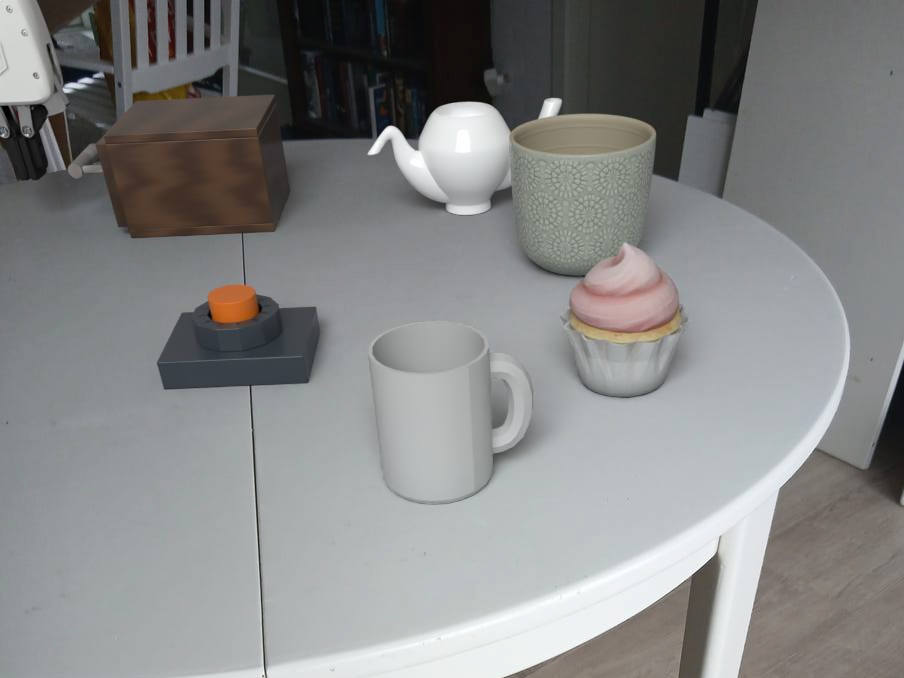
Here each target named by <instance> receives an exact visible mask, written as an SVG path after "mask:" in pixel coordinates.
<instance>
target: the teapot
mask: <svg viewBox="0 0 904 678" xmlns="http://www.w3.org/2000/svg"><path fill="white" fill-rule="evenodd" d="M562 104H563V100H562V99H561V98H559V97H550V98H546V99H544V100H543V104H542V107H541V110H540V113H539V115H538V117H537V119H541V118H545V117H551V116H558V115H559V112H560V110H561V109H562V108H561V107H562ZM511 132H512V130H511V129H510V128H509V126H508V124H507V122H506V121H505V119H504V117H503V115H501V113H500V111H499V110H498V109H497V108H495V106H493V105H491V104H488V103H485V102H481V101H458V102H452V103H447V104H443V105H440V106H438V107H436V108H435V109H434V110H433V111H432V112H431V113H430V115H429V116H428V118H427V120H426V122H425V124H424V126H423V129H422V131H421V132H420V135H419V137H418V141H417V149H414V148H413V147H412V146H411V145H410V143H408V141H407V139H406V137H405V136H404V134H403V133H402V131H401V130H400V129H399V128H398V127H396V126H394V125H388V126H386V127H385V128H384V129H383V131H382V132H381V133H380V134H379V136H378V137H377V139H376V140H375V141H374V143H373V145H372V146H371V147H370V149H369V150H368V152H367V153H366V154H367V155H368V156H373V155H377V154H380V153H381V152H382V150H383V148H384V146H385V145H386V143H387V142H388V141H390V142H391V146H392V151H393V155H394V156H393V157H394V159H395V163H396V165H397V167H398V169H399V171H400V172H401V174H402V175H403V177H404V178H405V179H406V181H407V182H408V183H409V185H410V186H411V187H412V188H414V190H415V191H416V192H417V193H419V194H421V195H422V196H423V197H426V198H427V199H429V200H431V201H434V202H437V203H441V204H445V210H446V212H448V213H451V214H453V215H457V216H475V215H479V214H483V213H486V212H488V211H490V209H491V208H492V202H491V198H492V196H493V195H494V194H495V192H499V191H503V190H507V189H509V188H511V187H512V185H511V173H510V157H509V135H510V133H511Z"/></svg>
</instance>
